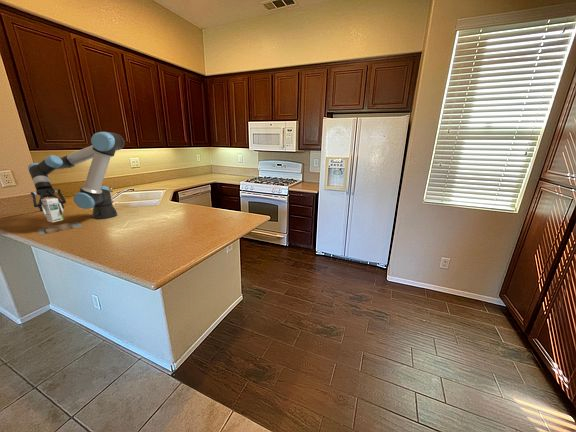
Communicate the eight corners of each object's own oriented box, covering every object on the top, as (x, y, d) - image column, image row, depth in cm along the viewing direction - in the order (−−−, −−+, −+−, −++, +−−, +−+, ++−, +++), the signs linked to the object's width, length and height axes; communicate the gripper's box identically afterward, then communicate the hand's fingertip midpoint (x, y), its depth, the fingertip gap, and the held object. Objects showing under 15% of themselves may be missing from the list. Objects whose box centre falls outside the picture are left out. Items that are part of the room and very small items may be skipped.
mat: (77, 222, 166) (77, 222, 166) (82, 227, 157) (82, 226, 157) (37, 230, 151) (37, 229, 151) (40, 235, 142) (40, 234, 142)
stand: (69, 224, 160) (68, 222, 160) (73, 228, 153) (72, 226, 153) (44, 229, 151) (43, 227, 151) (47, 233, 144) (46, 231, 144)
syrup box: (53, 222, 147) (46, 199, 143) (47, 221, 149) (40, 199, 145) (64, 220, 152) (58, 198, 148) (58, 219, 154) (52, 197, 150)
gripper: (63, 186, 162) (75, 213, 157) (20, 190, 147) (31, 220, 142) (63, 179, 157) (75, 207, 152) (18, 182, 142) (30, 213, 137)
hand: (54, 213), depth 147 cm, fingers closed on syrup box, 7 cm apart
